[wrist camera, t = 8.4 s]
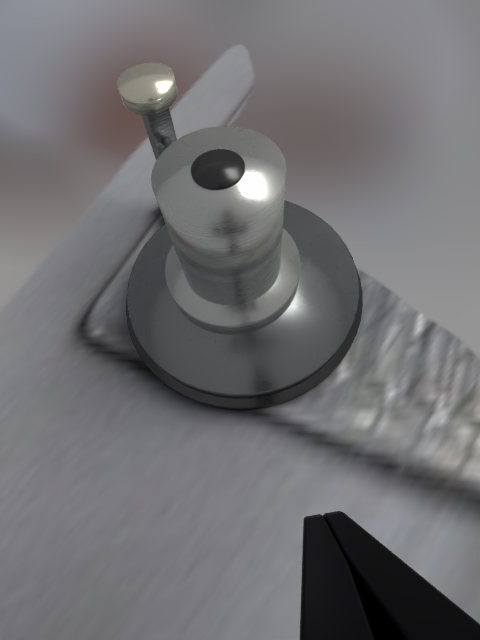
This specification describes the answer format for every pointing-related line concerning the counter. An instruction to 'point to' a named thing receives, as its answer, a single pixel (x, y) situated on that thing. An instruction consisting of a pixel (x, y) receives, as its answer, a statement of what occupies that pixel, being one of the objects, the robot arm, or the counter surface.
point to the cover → (226, 229)
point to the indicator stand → (151, 100)
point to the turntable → (258, 346)
